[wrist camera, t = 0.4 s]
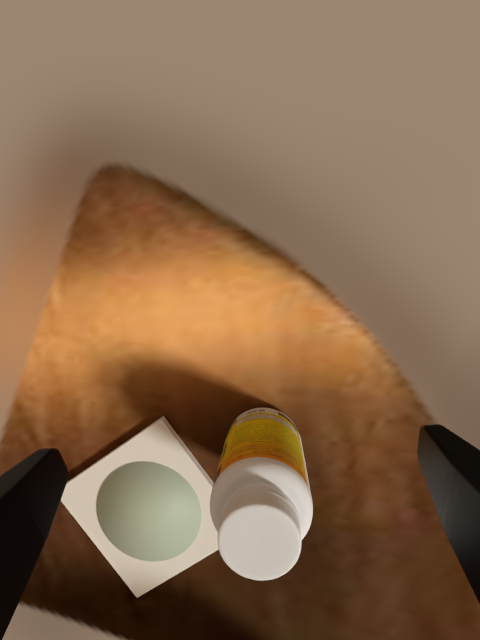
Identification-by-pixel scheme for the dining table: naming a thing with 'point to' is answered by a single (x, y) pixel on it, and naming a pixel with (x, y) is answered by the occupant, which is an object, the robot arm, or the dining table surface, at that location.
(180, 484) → the card
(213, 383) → the dining table surface
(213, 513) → the supplement bottle
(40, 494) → the robot arm
